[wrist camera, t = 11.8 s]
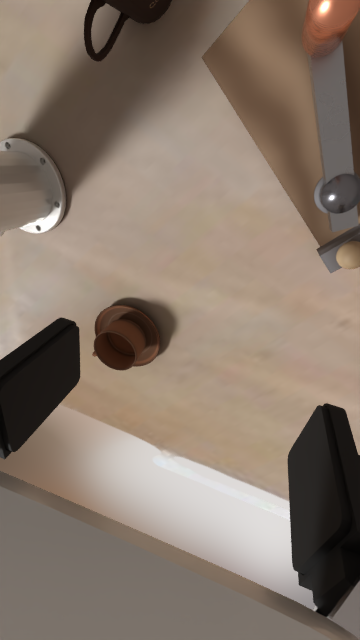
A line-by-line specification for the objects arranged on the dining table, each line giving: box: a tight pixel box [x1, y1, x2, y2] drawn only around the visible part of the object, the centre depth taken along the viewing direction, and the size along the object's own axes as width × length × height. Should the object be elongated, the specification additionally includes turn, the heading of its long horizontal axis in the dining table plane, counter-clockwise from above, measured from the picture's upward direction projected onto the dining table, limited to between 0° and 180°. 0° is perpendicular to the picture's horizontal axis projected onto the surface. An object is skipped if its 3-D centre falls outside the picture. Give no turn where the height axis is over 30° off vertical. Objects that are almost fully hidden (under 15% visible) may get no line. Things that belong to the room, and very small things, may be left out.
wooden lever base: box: [202, 0, 360, 273], centre depth 26 cm, size 16×26×7 cm, turn 41°
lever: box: [302, 0, 360, 232], centre depth 24 cm, size 18×4×8 cm, turn 20°
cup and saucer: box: [92, 305, 160, 370], centre depth 47 cm, size 12×12×6 cm
